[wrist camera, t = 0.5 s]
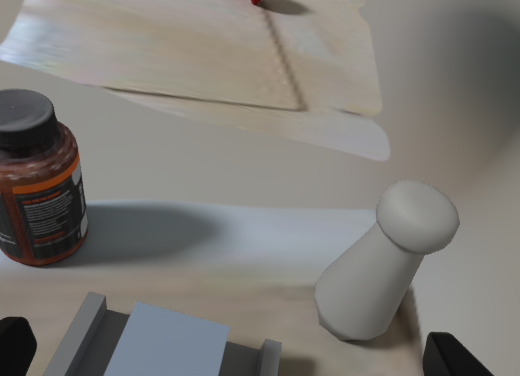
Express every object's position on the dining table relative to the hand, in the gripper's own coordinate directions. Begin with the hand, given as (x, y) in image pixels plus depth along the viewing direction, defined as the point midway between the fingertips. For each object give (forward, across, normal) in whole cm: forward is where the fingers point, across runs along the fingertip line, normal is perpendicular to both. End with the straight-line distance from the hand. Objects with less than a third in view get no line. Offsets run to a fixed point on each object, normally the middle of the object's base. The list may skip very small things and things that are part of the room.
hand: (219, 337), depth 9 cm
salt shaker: (+16, -5, +16) cm, 24 cm away
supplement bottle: (+17, +17, +9) cm, 26 cm away
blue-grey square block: (+7, +5, +12) cm, 15 cm away
